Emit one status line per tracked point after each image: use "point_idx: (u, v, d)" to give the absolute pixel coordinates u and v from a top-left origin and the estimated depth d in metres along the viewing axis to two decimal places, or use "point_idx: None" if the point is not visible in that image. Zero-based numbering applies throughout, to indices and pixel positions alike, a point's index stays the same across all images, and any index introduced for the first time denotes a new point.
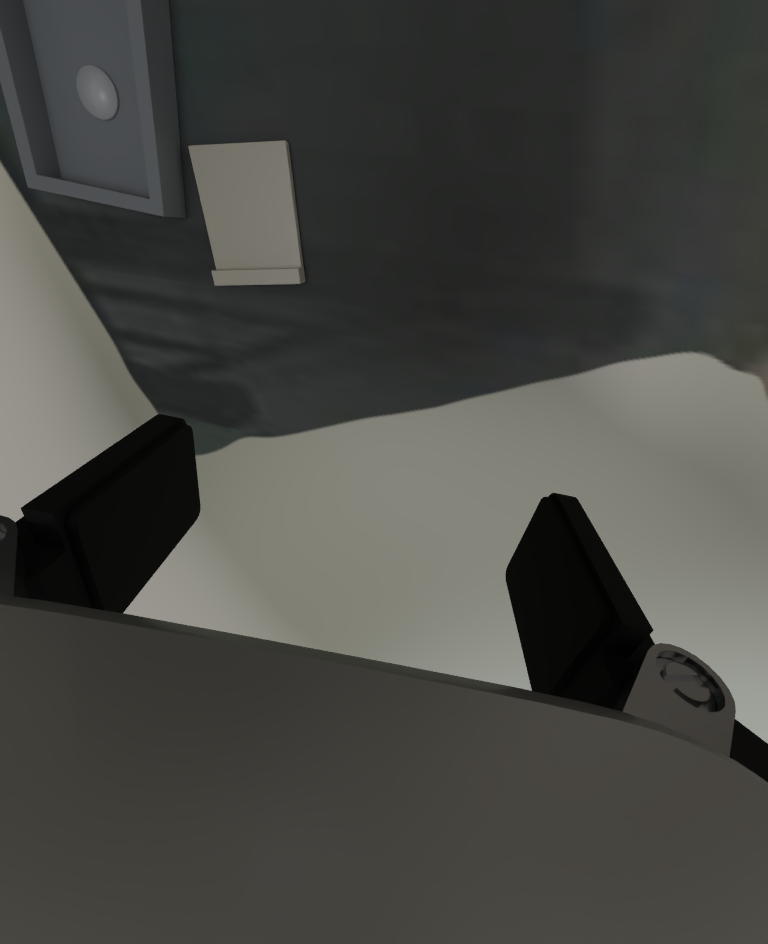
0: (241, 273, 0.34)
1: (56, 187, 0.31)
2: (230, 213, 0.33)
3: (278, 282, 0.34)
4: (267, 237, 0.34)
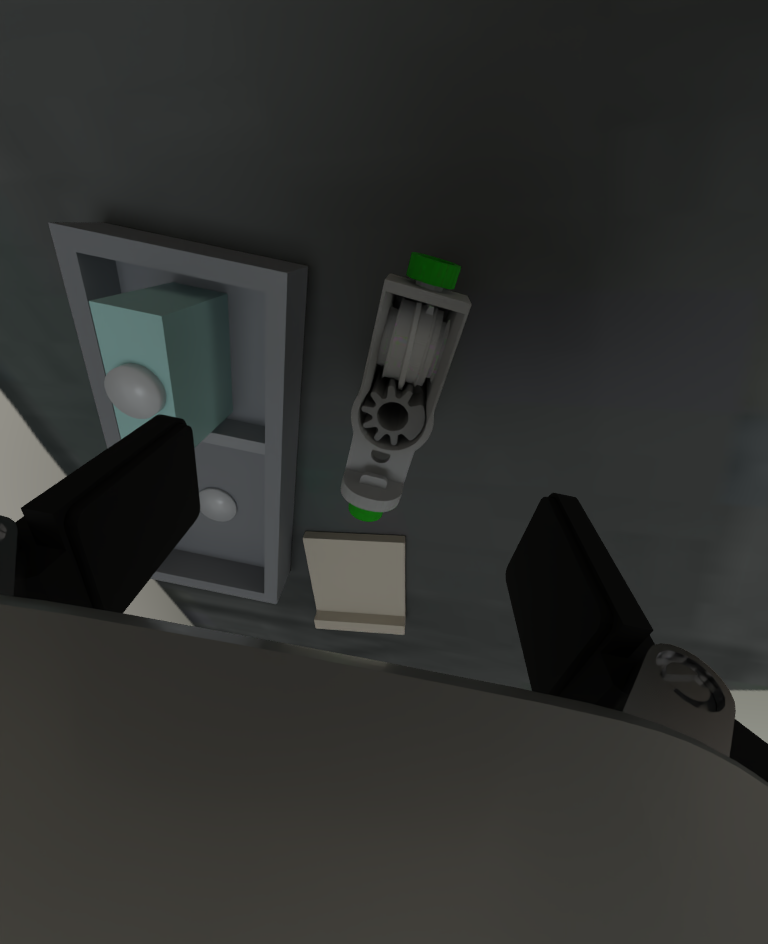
0: (344, 623, 0.34)
1: (170, 579, 0.30)
2: (338, 579, 0.32)
3: (381, 632, 0.34)
4: (373, 596, 0.33)
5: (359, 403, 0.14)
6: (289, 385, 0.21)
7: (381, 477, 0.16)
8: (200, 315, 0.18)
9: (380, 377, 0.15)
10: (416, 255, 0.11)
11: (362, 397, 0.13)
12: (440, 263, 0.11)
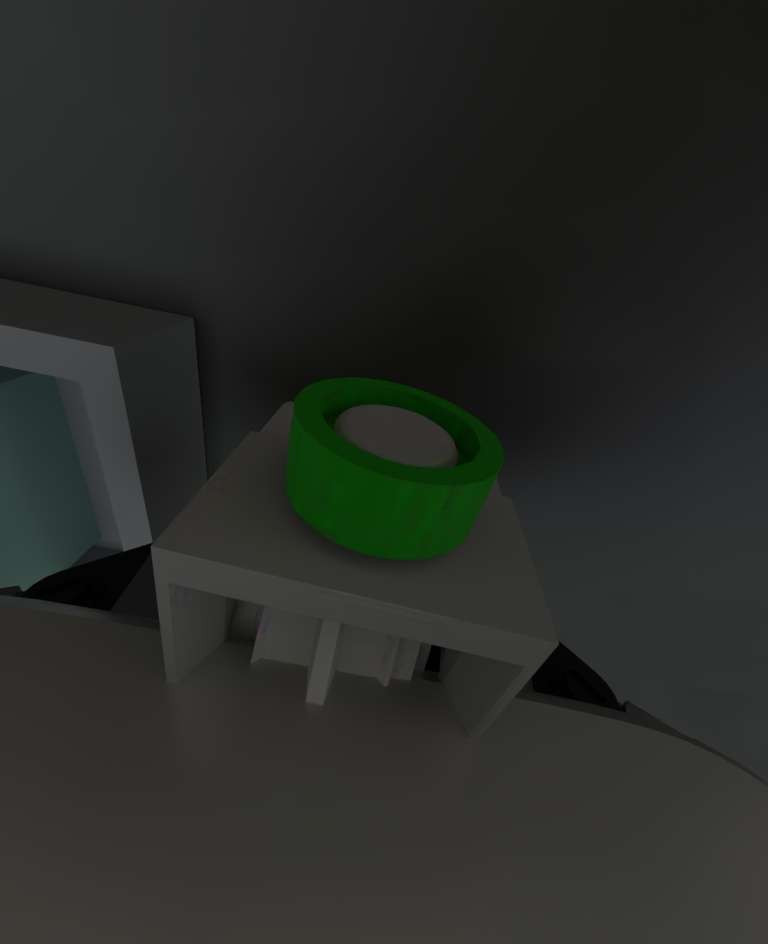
0: None
1: None
2: None
3: None
4: None
5: None
6: (171, 518, 0.12)
7: None
8: None
9: None
10: (304, 427, 0.02)
11: None
12: (414, 483, 0.02)
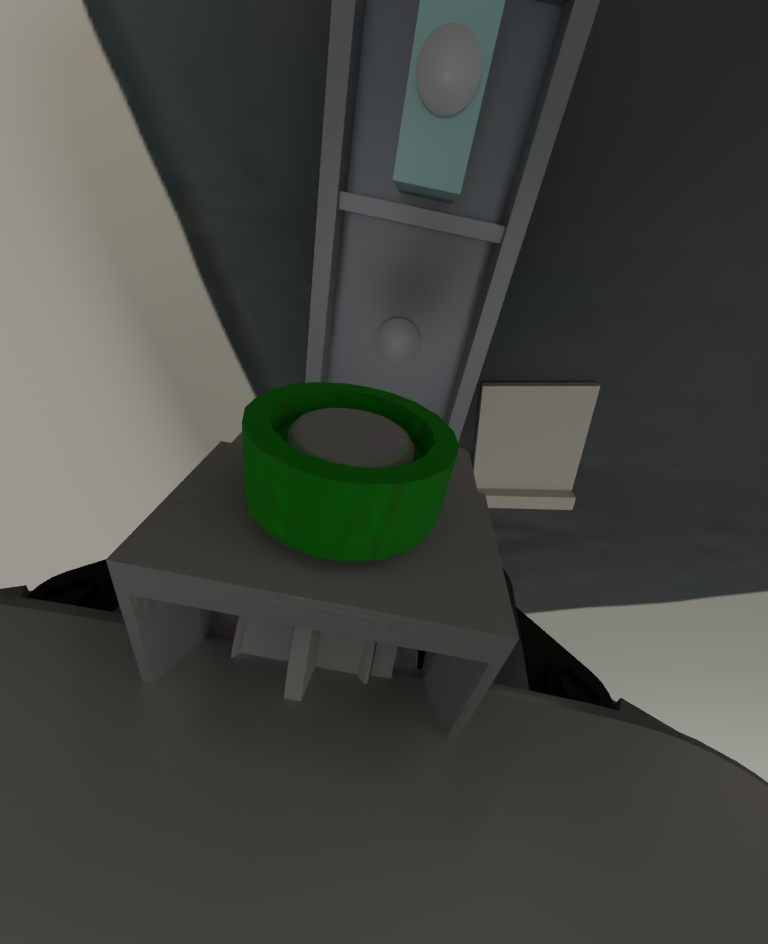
0: (507, 498, 0.31)
1: None
2: (508, 443, 0.29)
3: (547, 507, 0.31)
4: (543, 464, 0.30)
5: None
6: None
7: None
8: None
9: None
10: (249, 435, 0.02)
11: None
12: (354, 484, 0.02)
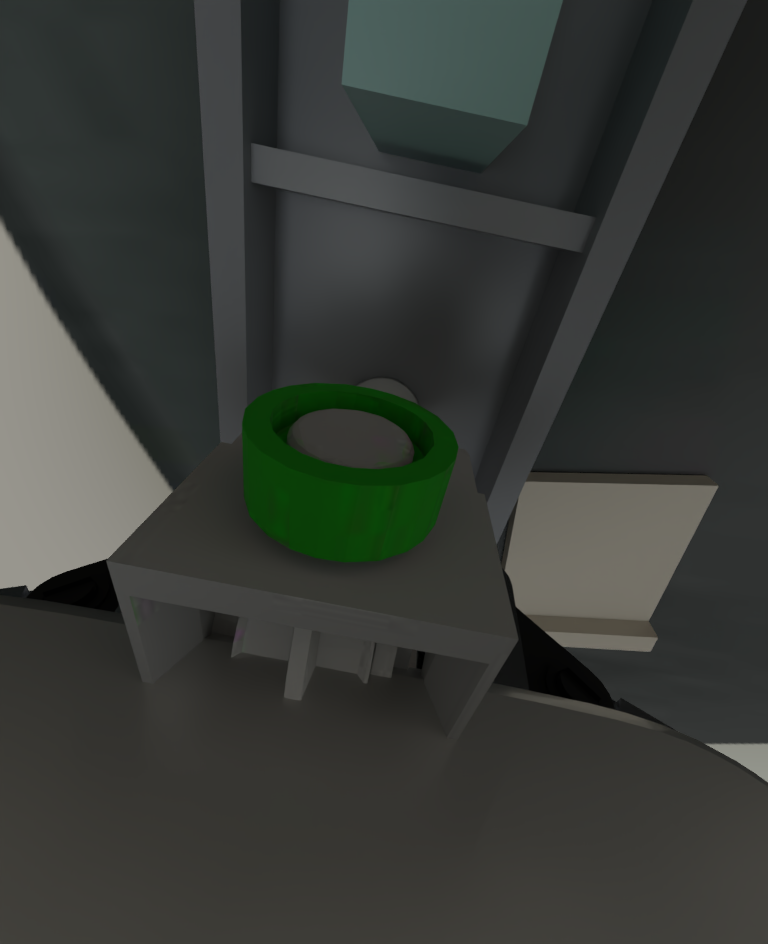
0: (551, 634, 0.20)
1: None
2: (557, 559, 0.19)
3: (612, 648, 0.21)
4: (608, 588, 0.20)
5: None
6: None
7: None
8: None
9: None
10: (249, 436, 0.02)
11: None
12: (354, 485, 0.02)
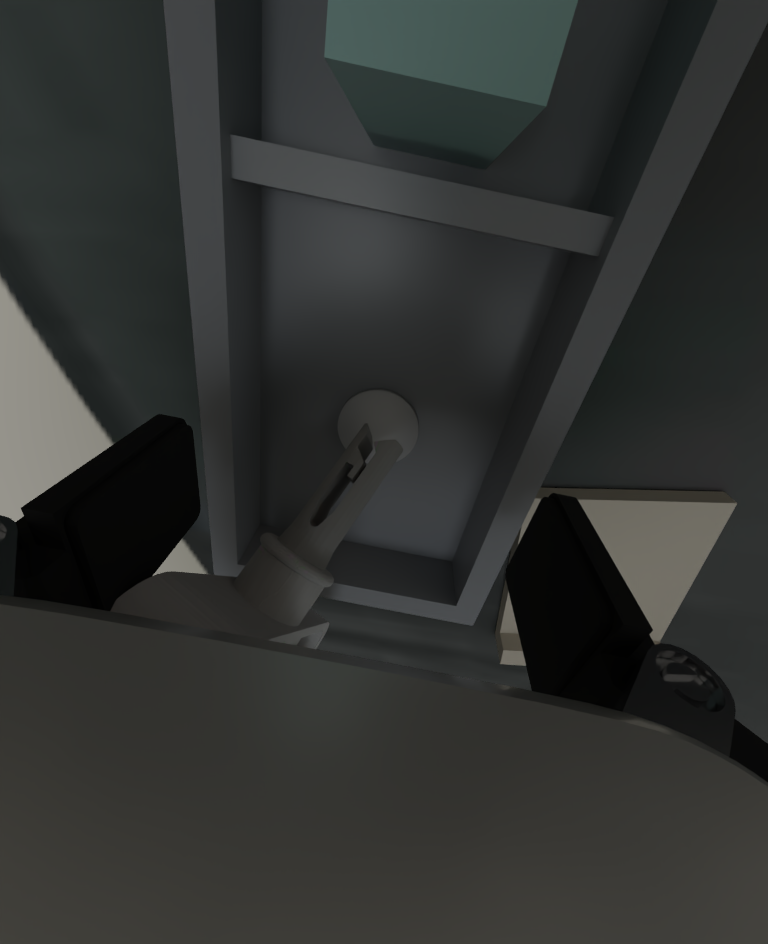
0: None
1: None
2: None
3: None
4: None
5: None
6: None
7: None
8: None
9: None
10: None
11: None
12: None
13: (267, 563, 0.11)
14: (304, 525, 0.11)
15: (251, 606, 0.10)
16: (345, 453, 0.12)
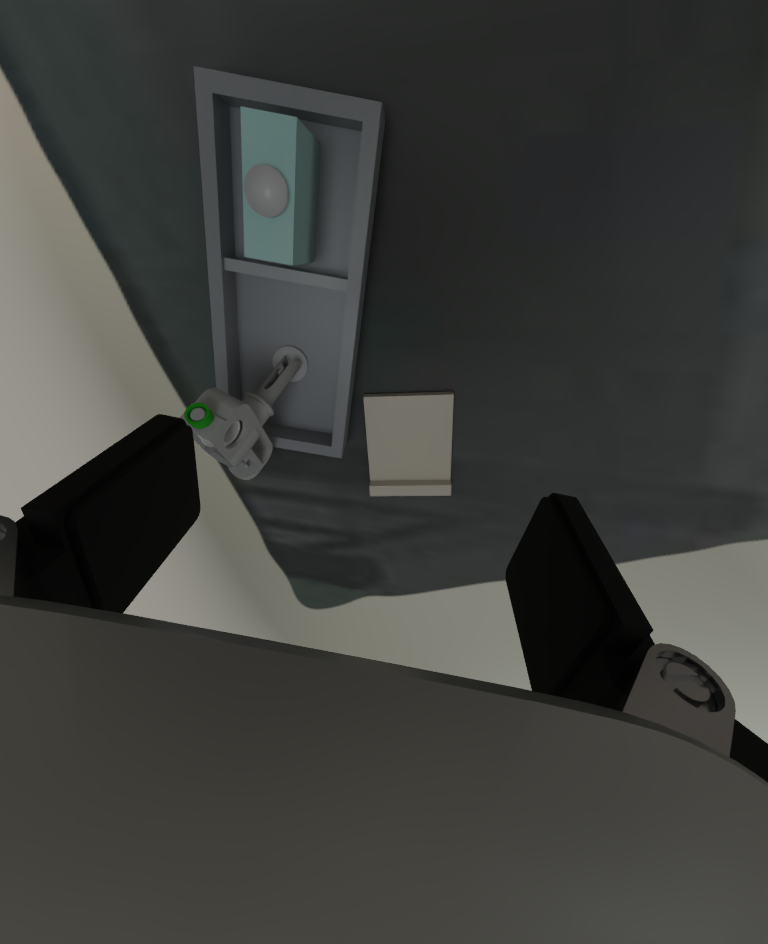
0: (397, 488, 0.38)
1: None
2: (392, 442, 0.36)
3: (430, 494, 0.38)
4: (423, 458, 0.37)
5: (203, 448, 0.29)
6: (369, 220, 0.26)
7: (243, 464, 0.32)
8: (309, 143, 0.23)
9: None
10: (184, 414, 0.24)
11: (203, 446, 0.29)
12: (190, 423, 0.24)
13: (248, 399, 0.29)
14: (261, 389, 0.30)
15: None
16: None
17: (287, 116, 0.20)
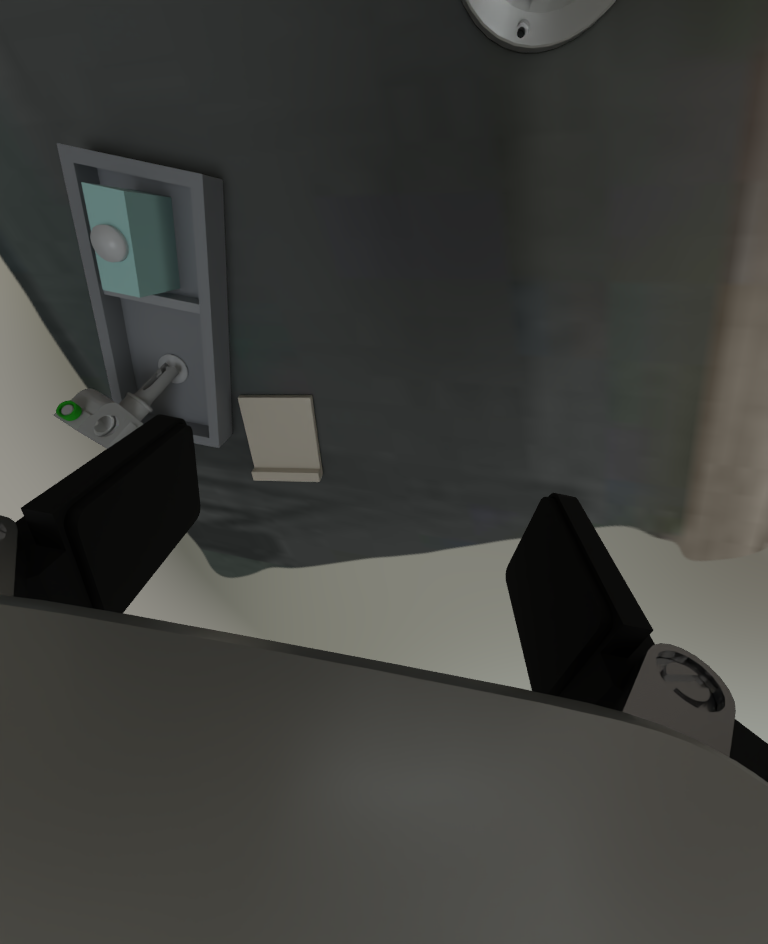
0: (274, 474, 0.45)
1: None
2: (267, 435, 0.43)
3: (302, 480, 0.45)
4: (294, 450, 0.44)
5: None
6: (213, 259, 0.33)
7: None
8: (151, 203, 0.30)
9: None
10: (57, 409, 0.32)
11: None
12: (60, 416, 0.31)
13: (127, 398, 0.37)
14: (140, 390, 0.37)
15: None
16: (157, 370, 0.38)
17: (116, 190, 0.27)
